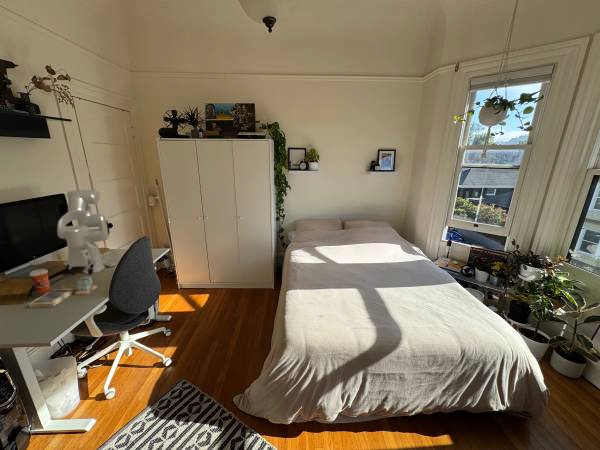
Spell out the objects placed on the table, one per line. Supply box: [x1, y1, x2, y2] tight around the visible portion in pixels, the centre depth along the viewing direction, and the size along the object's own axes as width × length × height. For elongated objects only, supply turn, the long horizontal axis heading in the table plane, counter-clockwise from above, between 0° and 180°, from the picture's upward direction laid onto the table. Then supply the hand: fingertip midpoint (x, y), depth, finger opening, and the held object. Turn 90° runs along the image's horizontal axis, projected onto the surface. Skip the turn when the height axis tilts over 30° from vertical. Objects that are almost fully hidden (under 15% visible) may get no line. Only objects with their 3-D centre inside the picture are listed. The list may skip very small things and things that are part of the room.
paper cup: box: [29, 268, 51, 295], centre depth 150 cm, size 8×8×14 cm
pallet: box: [74, 276, 98, 296], centre depth 153 cm, size 9×7×8 cm
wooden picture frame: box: [28, 288, 76, 309], centre depth 143 cm, size 16×12×2 cm
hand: (82, 274), depth 150 cm, fingers open, 9 cm apart
